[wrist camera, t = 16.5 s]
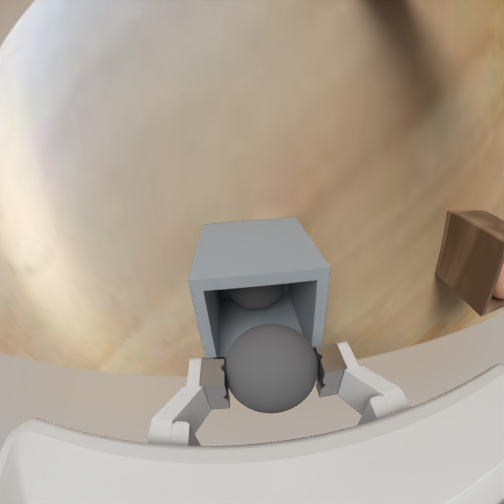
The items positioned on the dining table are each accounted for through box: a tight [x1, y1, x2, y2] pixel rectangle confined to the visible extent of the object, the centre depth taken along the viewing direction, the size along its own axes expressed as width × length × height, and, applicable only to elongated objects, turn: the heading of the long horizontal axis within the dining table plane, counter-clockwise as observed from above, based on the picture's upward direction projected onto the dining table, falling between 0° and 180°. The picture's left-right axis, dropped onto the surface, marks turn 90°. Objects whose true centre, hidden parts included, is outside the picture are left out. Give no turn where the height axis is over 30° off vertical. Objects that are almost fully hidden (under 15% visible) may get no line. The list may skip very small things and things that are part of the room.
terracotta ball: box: [492, 263, 504, 299], centre depth 16 cm, size 4×4×4 cm
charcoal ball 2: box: [225, 324, 318, 413], centre depth 11 cm, size 4×4×4 cm
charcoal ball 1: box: [226, 284, 285, 310], centre depth 18 cm, size 4×4×4 cm
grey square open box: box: [188, 217, 330, 359], centre depth 17 cm, size 6×6×7 cm
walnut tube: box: [435, 211, 504, 316], centre depth 17 cm, size 6×6×7 cm
